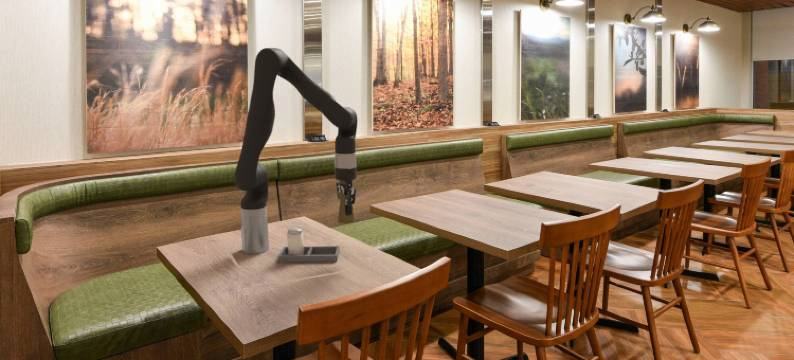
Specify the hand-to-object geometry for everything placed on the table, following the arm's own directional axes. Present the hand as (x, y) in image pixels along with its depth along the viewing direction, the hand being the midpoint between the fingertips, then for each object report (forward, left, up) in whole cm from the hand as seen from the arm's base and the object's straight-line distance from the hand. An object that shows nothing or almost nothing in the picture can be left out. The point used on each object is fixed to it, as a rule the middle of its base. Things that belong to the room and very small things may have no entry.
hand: (346, 213), depth 192 cm
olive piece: (0, 0, -3) cm, 3 cm away
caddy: (-12, +6, -17) cm, 21 cm away
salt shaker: (-16, +8, -16) cm, 24 cm away
